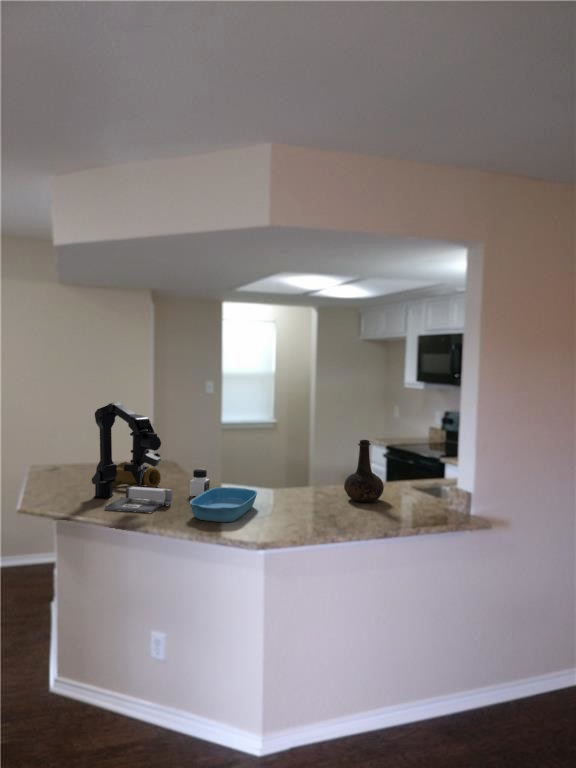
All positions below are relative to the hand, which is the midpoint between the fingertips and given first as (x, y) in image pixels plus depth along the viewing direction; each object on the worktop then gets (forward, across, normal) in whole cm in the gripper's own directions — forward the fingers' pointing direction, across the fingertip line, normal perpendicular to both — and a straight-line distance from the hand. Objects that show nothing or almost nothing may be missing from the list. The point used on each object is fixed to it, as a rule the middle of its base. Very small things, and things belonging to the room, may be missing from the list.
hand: (138, 484), depth 230 cm
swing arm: (+8, +7, -2) cm, 10 cm away
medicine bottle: (+10, +27, -18) cm, 34 cm away
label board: (+10, +2, 0) cm, 10 cm away
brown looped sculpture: (+10, +34, +18) cm, 40 cm away
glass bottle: (+10, +38, -93) cm, 101 cm away
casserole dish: (+10, +3, -36) cm, 38 cm away
